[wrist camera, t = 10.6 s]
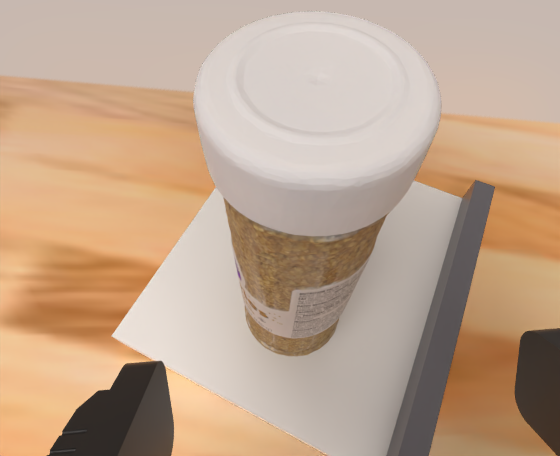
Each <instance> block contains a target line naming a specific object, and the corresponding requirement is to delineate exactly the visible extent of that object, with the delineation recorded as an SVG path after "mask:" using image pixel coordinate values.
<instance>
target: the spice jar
mask: <svg viewBox="0 0 560 456" xmlns="http://www.w3.org/2000/svg"><path fill="white" fill-rule="evenodd" d="M193 103H194V112H195V117H196V122H197V126H198V131H199V136H200V141H201V145H202V149H203V152H204V156H205V160H206V164H207V168H208V171H209V173H210V175H211V178H212V180H213V182H214V184H215V186H216V187H217V189H218V190H219V192H220V193H221V194H222V196H223V198H224V203H225V207H226V214H227V218H228V224H229V228H230V231H231V244H232V249H233V254H234V259H235V264H236V268H237V273H238V278H239V283H240V287H241V292H242V297H243V301H244V304H245V314H246V315H245V316H246V321H247V324H248V327H249V329H250V331H251V333H252V334H253V336H254V337H255V338H256V340H257V341H258V342H259V343H260V344H261V345H262V346H264V347H265V348H266V349H268V350H270V351H272V352H274V353H276V354H280V355H285V356H304V355H308V354H310V353H312V352H314V351H316V350H318V349H320V348H321V347H323V346H324V345H325V344H326V343H327V342H328V341H329V340H330V338H331V337H332V336H333V334H334V333H335V330H336V327H337V324H338V321H339V317H340V316H341V314H342V313H343V311H344V309H345V307H346V305H347V303H348V301H349V299H350V297H351V295H352V293H353V291H354V289H355V287H356V285H357V283H358V281H359V279H360V277H361V274H362V272H363V270H364V268H365V266H366V264H367V262H368V260H369V258H370V256H371V254H372V251H373V249H374V246H375V242H376V239H377V236H378V233H379V232H380V229H381V227H382V225H383V223H384V221H385V218H386V216H387V215H388V214H389V213H390V212H391V211H392V210H393V209H394V208H395V207H396V206H397V204H398V203H399V202H400V201H401V200H402V198H403V197H404V196H405V194H406V193H407V192H408V190H409V188H410V186H411V185H412V183H413V181H414V179H415V177H416V175H417V173H418V171H419V169H420V167H421V165H422V163H423V160H424V158H425V156H426V154H427V152H428V149H429V147H430V145H431V143H432V140H433V138H434V136H435V134H436V132H437V129H438V125H439V121H440V116H441V95H440V90H439V86H438V83H437V80H436V78H435V75H434V73H433V71H432V70H431V68H430V66H429V65H428V63H427V61H426V60H425V59H424V58H423V57H422V55H421V54H420V53H419V52H418V51H417V50H416V49H415V48H414V47H413V46H412V45H411V44H409V43H408V42H407V41H406V40H404V39H403V38H401V37H400V36H398V35H397V34H395V33H393V32H392V31H390V30H388V29H386V28H384V27H381V26H379V25H377V24H375V23H373V22H370V21H367V20H365V19H361V18H358V17H354V16H350V15H345V14H340V13H333V12H315V11H304V12H291V13H285V14H279V15H275V16H270V17H266V18H263V19H260V20H257V21H254V22H252V23H250V24H248V25H245V26H243V27H241V28H240V29H238V30H236V31H235V32H233V33H231V34H230V35H228V36H227V37H226V38H225V39H223V40H222V41H221V42H220V43H219V44H217V46H216V47H215V48H214V49H213V50H212V51H211V53H210V54H209V55H208V56H207V58H206V59H205V61H204V62H203V64H202V66H201V68H200V70H199V73H198V76H197V79H196V83H195V89H194V98H193Z"/></svg>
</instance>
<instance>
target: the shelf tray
mask: <svg viewBox="0 0 560 456" xmlns="http://www.w3.org/2000/svg"><path fill="white" fill-rule="evenodd" d="M494 189H495V187H494V186H491V185H489V184H486V183H483V182H480V181H477V180H475V182H474V183H473V184H472V186H471V187H470V189H469V190H468V191H467V193H466V194H465V195H464V197H463V198H460V197H458V196H455V195H452V194H449V193H447V192H444V191H441V190H438V189H436V188H433V187H430V186H427V185H425V184H422V183H419V182H416V181H413V183H412V185H411V186H410V188H409V190H408V192H407V193H406V194H405V196H404V197H403V198H402V200H401V201H400V202H399V203H398V204H397V206H396V207H395V208H394V209H393V210H392V211H391V212H390V213H389V214H388V215H387V216H386V218H385V221H384V223H383V225H382V227H381V229H380V232H379V233H378V236H377V239H376V242H375V246H374V249H373V251H372V254H371V256H370V258H369V260H368V262H367V264H366V266H365V268H364V270H363V272H362V274H361V277H360V279H359V281H358V283H357V285H356V287H355V289H354V291H353V293H352V295H351V297H350V299H349V301H348V303H347V305H346V307H345V309H344V311H343V313H342V314H341V316H340V317H339V321H338V324H337V327H336V330H335V333H334V334H333V336H332V337H331V338H330V340H329V341H328V342H327V343H326V344H325V345H324V346H323V347H321V348H320V349H318V350H316V351H314V352H312V353H310V354H308V355H304V356H285V355H280V354H276V353H274V352H272V351H270V350H268V349H266V348H265V347H264V346H262V345H261V344H260V343H259V342H258V341H257V340H256V338H255V337H254V336H253V334H252V333H251V331H250V329H249V327H248V324H247V321H246V316H245V315H246V314H245V304H244V301H243V297H242V292H241V287H240V283H239V278H238V273H237V268H236V264H235V259H234V254H233V249H232V244H231V231H230V228H229V224H228V218H227V214H226V207H225V203H224V198H223V196H222V194H221V193H220V192H219V190H218V189H217V187H216V188H215V189H214V191H213V192H212V194H211V195H210V196H209V198H208V199H207V201H206V202H205V203H204V205H203V206H202V208H201V209H200V211H199V212H198V213H197V215H196V216H195V218H194V219H193V221H192V222H191V223H190V225H189V226H188V228H187V229H186V231H185V232H184V233H183V235H182V236H181V238H180V239H179V241H178V242H177V243H176V245H175V246H174V248H173V249H172V251H171V252H170V253H169V255H168V256H167V258H166V259H165V261H164V262H163V263H162V265H161V266H160V268H159V269H158V270H157V272H156V273H155V275H154V276H153V278H152V279H151V280H150V282H149V283H148V285H147V286H146V288H145V289H144V290H143V292H142V293H141V295H140V296H139V298H138V299H137V300H136V302H135V303H134V305H133V306H132V308H131V309H130V310H129V312H128V313H127V315H126V316H125V318H124V319H123V320H122V322H121V323H120V325H119V326H118V328H117V329H116V330H115V332H114V333H113V335H112V337H114V338H115V339H117V340H118V341H120V342H121V343H123V344H124V345H126V346H128V347H130V348H132V349H133V350H135V351H137V352H139V353H141V354H143V355H144V356H146V357H148V358H150V359H152V360H154V361H162V362H163V363H164V365H165V367H166V368H168V369H170V370H172V371H174V372H176V373H177V374H179V375H181V376H183V377H185V378H186V379H188V380H190V381H192V382H194V383H196V384H197V385H199V386H201V387H203V388H205V389H207V390H208V391H210V392H212V393H214V394H216V395H218V396H219V397H221V398H223V399H225V400H227V401H229V402H230V403H232V404H234V405H236V406H238V407H239V408H241V409H243V410H245V411H247V412H249V413H250V414H252V415H254V416H256V417H258V418H260V419H261V420H263V421H265V422H267V423H269V424H271V425H272V426H274V427H276V428H278V429H280V430H281V431H283V432H285V433H287V434H289V435H291V436H292V437H294V438H296V439H298V440H300V441H302V442H303V443H305V444H307V445H309V446H311V447H313V448H314V449H316V450H318V451H320V452H322V453H324V454H325V455H327V456H429V452H430V448H431V444H432V440H433V436H434V432H435V427H436V423H437V419H438V415H439V411H440V407H441V403H442V399H443V395H444V391H445V387H446V383H447V379H448V375H449V371H450V367H451V363H452V359H453V355H454V351H455V346H456V342H457V338H458V334H459V330H460V326H461V322H462V318H463V314H464V310H465V306H466V302H467V298H468V294H469V290H470V286H471V282H472V278H473V274H474V270H475V266H476V261H477V257H478V253H479V249H480V245H481V241H482V237H483V233H484V229H485V225H486V221H487V217H488V213H489V209H490V205H491V201H492V197H493V193H494Z"/></svg>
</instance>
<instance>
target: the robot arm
mask: <svg viewBox="0 0 560 456" xmlns="http://www.w3.org/2000/svg"><path fill="white" fill-rule="evenodd" d="M515 399H516V403H517V406H518V409H519V411H520V413H521V415H522V416H523V418H524V419H525V421H526V422H527V423H528V424H529V425H530V426H531V427H532V429H533V430H534V431H535V432H536V433H537V434H538V435H539V436H540V437H541V438H542V439H543V440H544V442H545V443H546V444H547V445H548V446H549V447H550V448H551V449H552V450H553V451H554V452H555V453H556V455H557V456H560V328H557V329H545V330H533V331H527V332H525V333H524V334H523V335H522V337H521V340H520V347H519V356H518V365H517V374H516V383H515ZM173 439H174V422H173V415H172V408H171V402H170V395H169V389H168V382H167V376H166V369H165V365H164V363H163V362H162V361H151V362H139V363H127V364H125V365H124V366H123V368H122V369H121V371H120V373H119V375H118V376H117V378H116V380H115V382H114V383H113V385H112V387H111V389H110V390H101V391H97V392H96V393H95V394H94V395H93V396H92V397H90V398H89V399H88V400H87V401H86V402H85V403H83V404H82V405H81V406H80V407H79V408H78V409H76V411H75V413H74V414H73V416H72V417H71V419H70V420H69V422H68V423H67V425H66V426H65V428H64V429H63V431H62V436H59V437H58V439H57V440H56V442H55V443H54V445H53V446H52V448H51V449H50V454H49V455H47V456H171V453H172V448H173Z"/></svg>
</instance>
